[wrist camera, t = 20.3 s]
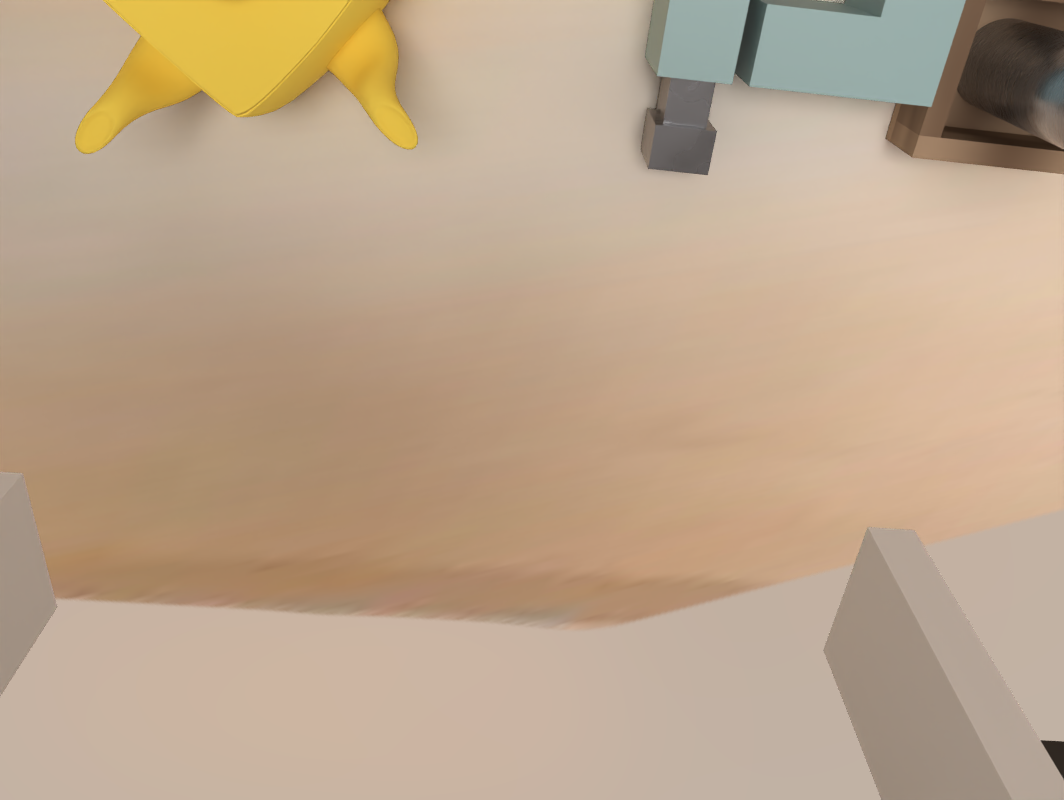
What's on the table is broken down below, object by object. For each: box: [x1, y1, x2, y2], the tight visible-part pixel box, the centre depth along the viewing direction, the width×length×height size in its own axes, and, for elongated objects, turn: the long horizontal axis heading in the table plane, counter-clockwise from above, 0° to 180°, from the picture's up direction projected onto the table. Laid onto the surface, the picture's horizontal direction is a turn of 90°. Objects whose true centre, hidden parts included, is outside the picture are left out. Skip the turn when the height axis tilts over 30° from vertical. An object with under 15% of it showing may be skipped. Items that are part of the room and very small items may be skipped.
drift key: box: [641, 77, 717, 175], centre depth 40 cm, size 3×10×4 cm, turn 174°
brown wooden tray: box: [886, 0, 1064, 174], centre depth 40 cm, size 8×8×4 cm
